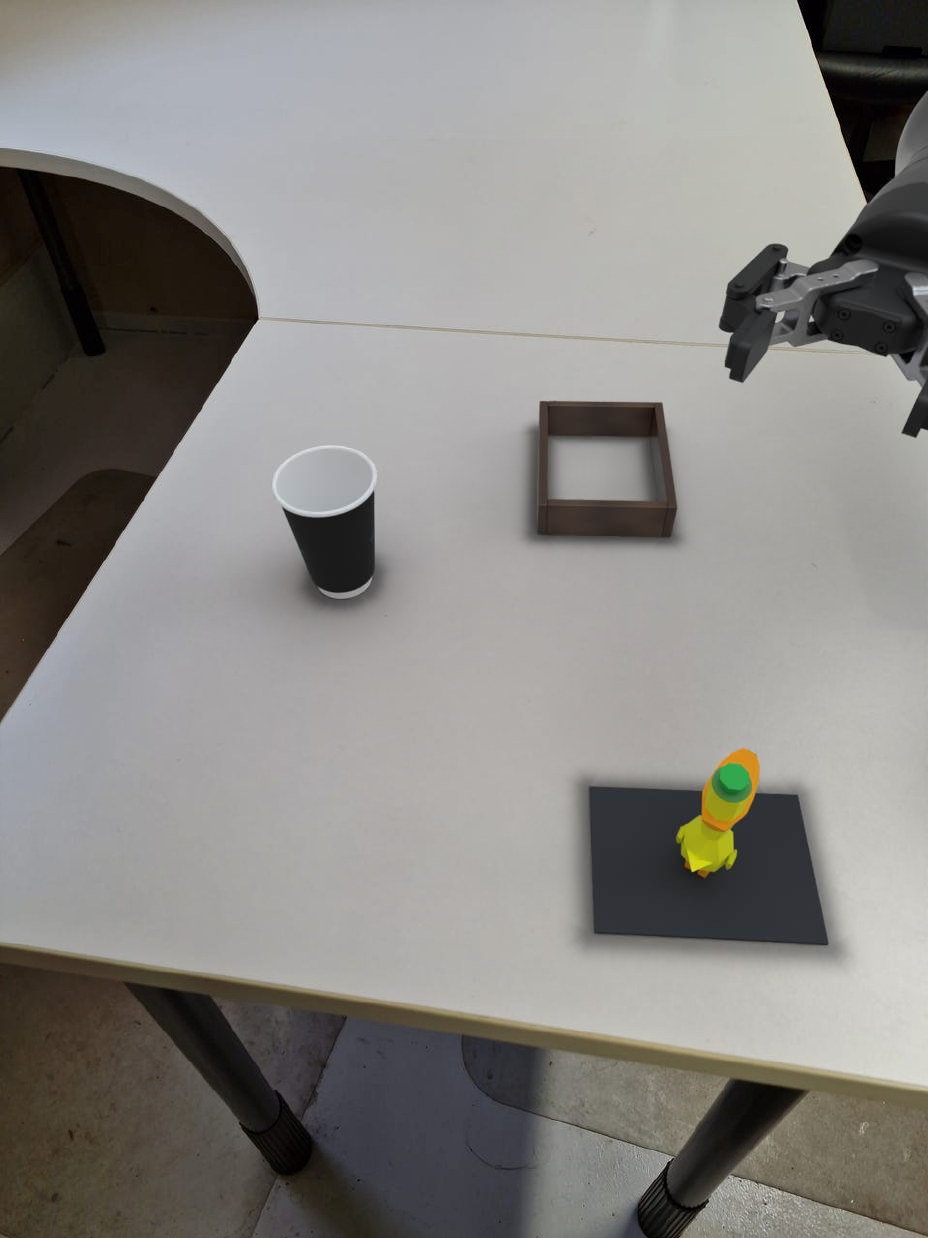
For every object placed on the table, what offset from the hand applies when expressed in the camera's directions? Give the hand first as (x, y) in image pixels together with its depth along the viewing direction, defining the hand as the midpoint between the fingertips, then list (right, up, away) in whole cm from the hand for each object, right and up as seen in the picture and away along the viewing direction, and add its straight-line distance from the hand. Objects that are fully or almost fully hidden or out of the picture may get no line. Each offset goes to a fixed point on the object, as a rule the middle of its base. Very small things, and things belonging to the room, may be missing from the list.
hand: (823, 391), depth 41 cm
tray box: (-5, +2, +38) cm, 39 cm away
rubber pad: (-2, -27, +14) cm, 30 cm away
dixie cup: (-27, -8, +32) cm, 42 cm away
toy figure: (-2, -26, +14) cm, 30 cm away
